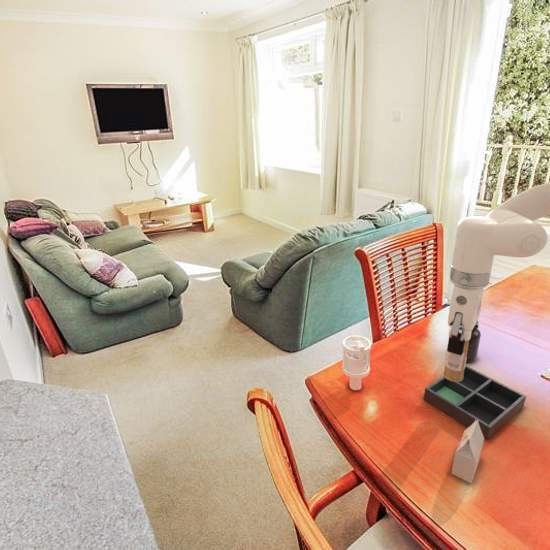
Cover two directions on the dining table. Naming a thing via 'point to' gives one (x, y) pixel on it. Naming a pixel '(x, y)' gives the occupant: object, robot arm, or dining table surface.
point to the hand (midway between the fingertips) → (457, 346)
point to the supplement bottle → (473, 344)
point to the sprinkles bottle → (456, 361)
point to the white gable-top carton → (468, 453)
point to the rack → (476, 400)
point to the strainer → (356, 360)
